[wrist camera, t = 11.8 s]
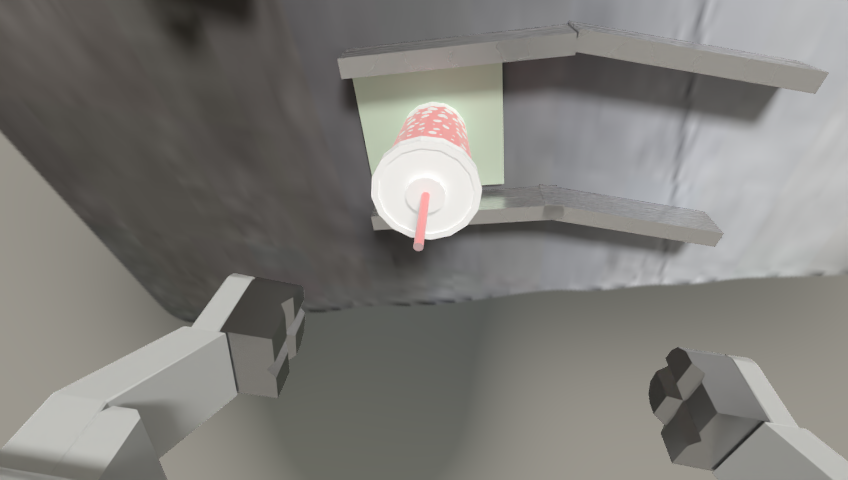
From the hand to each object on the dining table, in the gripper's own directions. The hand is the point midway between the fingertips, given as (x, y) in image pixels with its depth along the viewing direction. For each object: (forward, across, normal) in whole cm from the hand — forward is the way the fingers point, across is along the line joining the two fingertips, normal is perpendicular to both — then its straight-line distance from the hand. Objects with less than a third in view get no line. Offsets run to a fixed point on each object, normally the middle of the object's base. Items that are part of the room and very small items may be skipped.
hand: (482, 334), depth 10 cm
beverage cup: (+23, +2, +5) cm, 24 cm away
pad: (+24, +2, +5) cm, 24 cm away
